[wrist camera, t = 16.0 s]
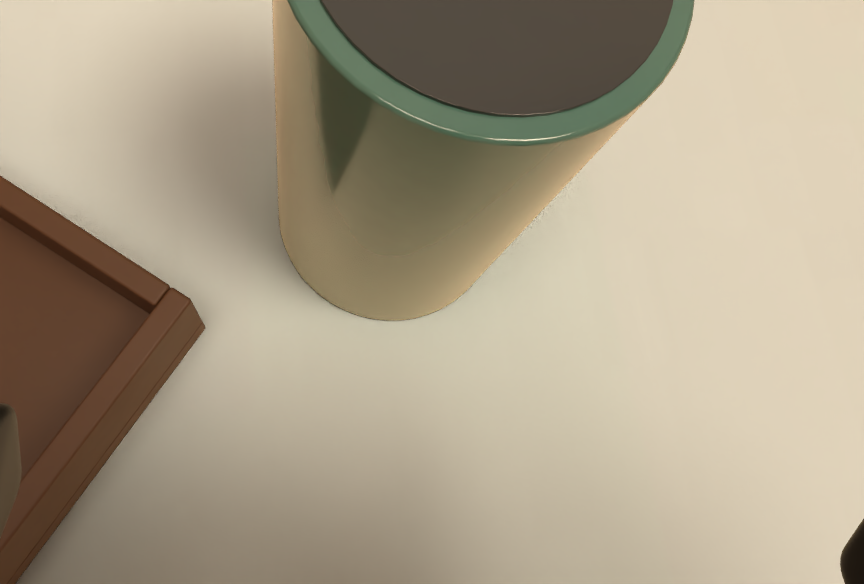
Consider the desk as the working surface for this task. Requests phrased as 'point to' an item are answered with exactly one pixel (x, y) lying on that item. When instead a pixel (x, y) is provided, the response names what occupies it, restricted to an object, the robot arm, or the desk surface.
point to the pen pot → (444, 130)
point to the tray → (74, 359)
